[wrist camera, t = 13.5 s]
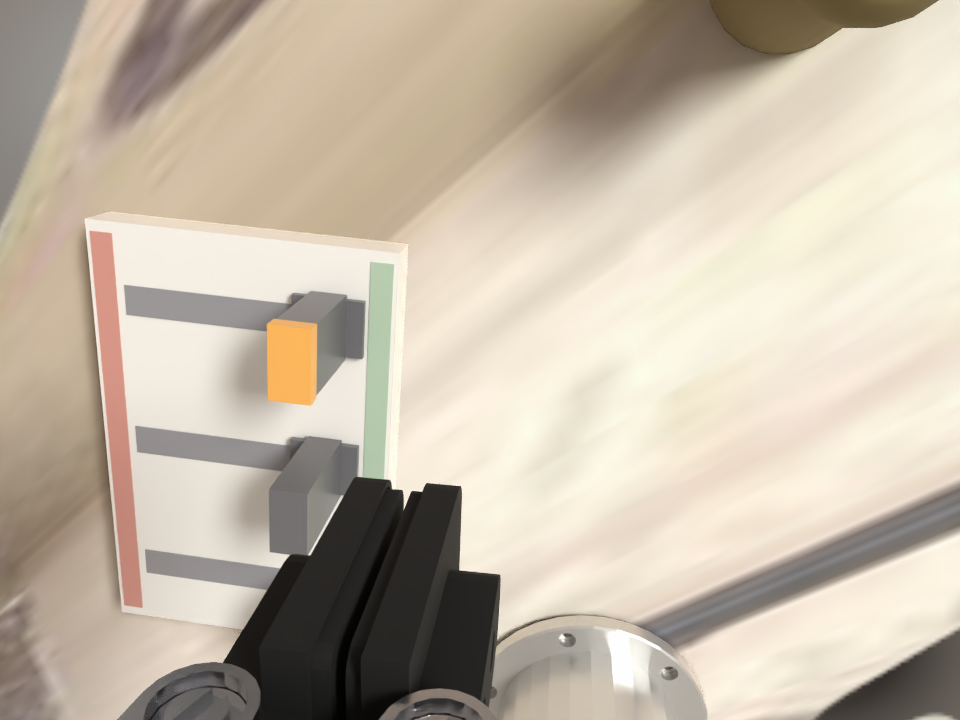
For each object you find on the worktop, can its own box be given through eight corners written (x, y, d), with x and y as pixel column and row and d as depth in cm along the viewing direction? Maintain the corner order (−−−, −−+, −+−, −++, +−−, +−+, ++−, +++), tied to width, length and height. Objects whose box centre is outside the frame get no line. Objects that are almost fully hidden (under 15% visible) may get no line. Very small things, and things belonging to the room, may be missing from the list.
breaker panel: (408, 243, 35) (399, 253, 33) (388, 624, 42) (379, 650, 40) (110, 211, 36) (83, 218, 34) (141, 588, 43) (121, 612, 41)
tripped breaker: (365, 295, 33) (331, 331, 28) (363, 362, 34) (329, 408, 30) (293, 287, 34) (247, 321, 29) (293, 353, 35) (248, 398, 30)
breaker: (359, 441, 36) (326, 497, 31) (357, 497, 37) (325, 560, 32) (292, 432, 36) (249, 486, 31) (292, 488, 37) (251, 549, 32)
